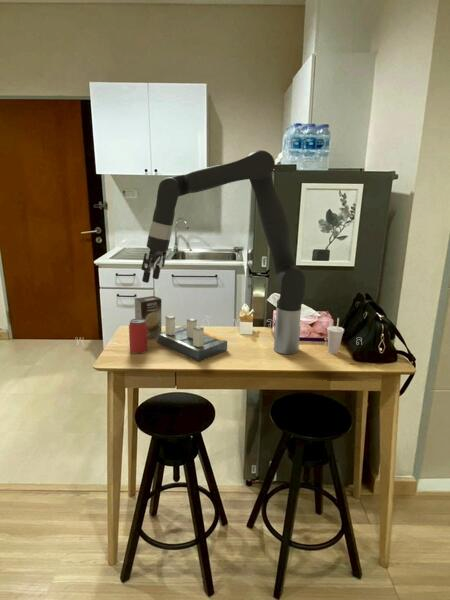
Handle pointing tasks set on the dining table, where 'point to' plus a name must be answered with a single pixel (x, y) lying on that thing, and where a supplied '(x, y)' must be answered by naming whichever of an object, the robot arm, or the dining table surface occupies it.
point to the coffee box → (149, 314)
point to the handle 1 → (170, 325)
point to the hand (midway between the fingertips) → (150, 280)
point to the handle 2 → (198, 336)
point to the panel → (186, 347)
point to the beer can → (138, 335)
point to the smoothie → (334, 338)
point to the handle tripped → (191, 326)
